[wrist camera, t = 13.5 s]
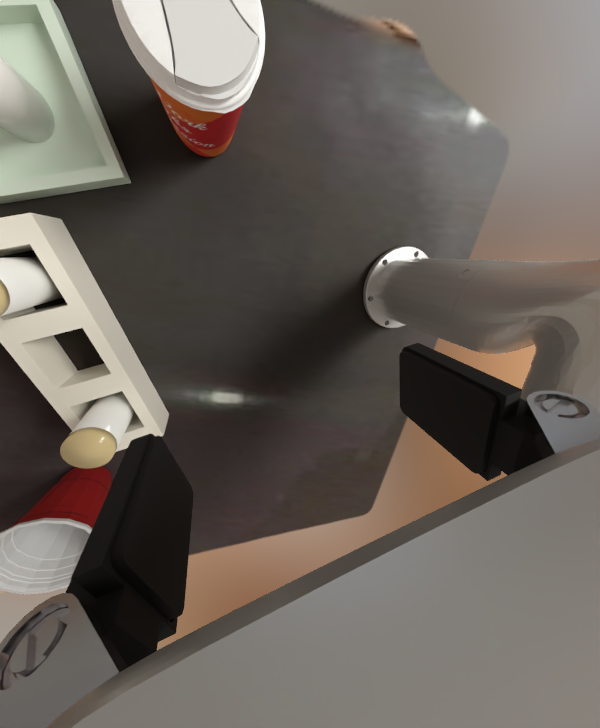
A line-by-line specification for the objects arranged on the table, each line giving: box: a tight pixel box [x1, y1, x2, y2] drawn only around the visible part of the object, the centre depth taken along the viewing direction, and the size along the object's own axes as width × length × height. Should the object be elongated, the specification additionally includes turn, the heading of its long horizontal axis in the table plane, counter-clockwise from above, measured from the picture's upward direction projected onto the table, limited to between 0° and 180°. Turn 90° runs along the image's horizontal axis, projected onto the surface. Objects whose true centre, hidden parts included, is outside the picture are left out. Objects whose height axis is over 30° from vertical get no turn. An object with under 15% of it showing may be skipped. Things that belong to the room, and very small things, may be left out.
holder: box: [0, 213, 169, 452], centre depth 29 cm, size 8×26×5 cm, turn 12°
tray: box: [0, 0, 131, 204], centre depth 22 cm, size 12×12×2 cm
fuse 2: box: [60, 391, 135, 469], centre depth 30 cm, size 4×4×11 cm
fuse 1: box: [0, 257, 63, 316], centre depth 23 cm, size 4×4×11 cm
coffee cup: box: [112, 0, 265, 157], centre depth 20 cm, size 8×8×15 cm
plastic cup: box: [0, 466, 112, 594], centre depth 33 cm, size 11×11×12 cm
